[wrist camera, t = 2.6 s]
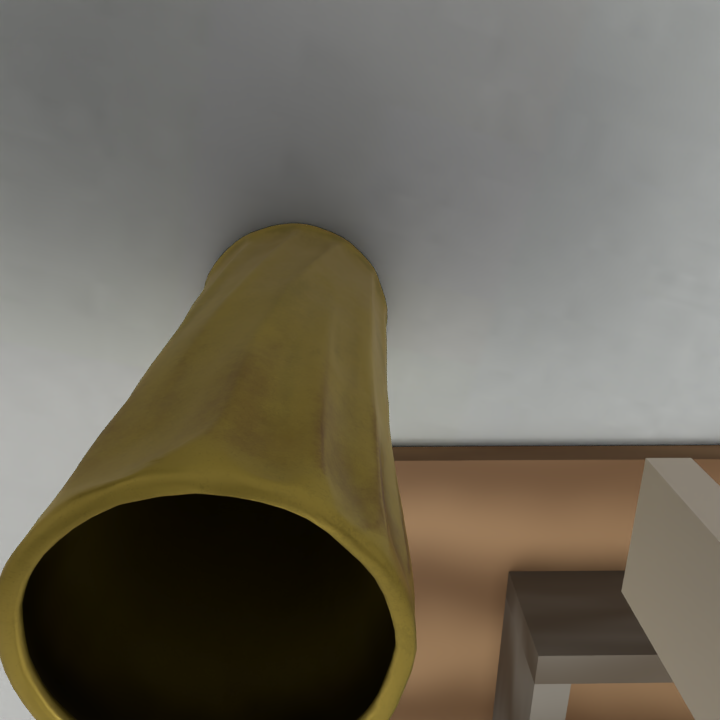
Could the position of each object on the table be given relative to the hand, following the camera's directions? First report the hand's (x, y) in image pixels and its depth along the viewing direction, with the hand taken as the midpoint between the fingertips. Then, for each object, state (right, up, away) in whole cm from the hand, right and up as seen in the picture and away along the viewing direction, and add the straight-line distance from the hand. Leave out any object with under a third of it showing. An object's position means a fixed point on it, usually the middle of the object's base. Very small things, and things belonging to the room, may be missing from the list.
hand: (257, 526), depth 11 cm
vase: (0, +4, +11) cm, 11 cm away
